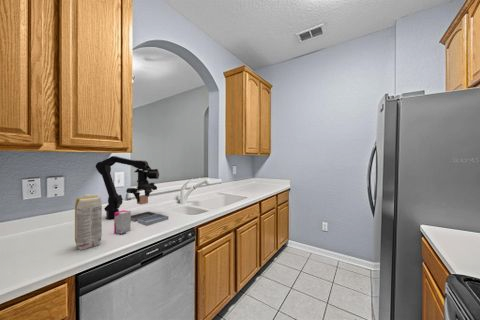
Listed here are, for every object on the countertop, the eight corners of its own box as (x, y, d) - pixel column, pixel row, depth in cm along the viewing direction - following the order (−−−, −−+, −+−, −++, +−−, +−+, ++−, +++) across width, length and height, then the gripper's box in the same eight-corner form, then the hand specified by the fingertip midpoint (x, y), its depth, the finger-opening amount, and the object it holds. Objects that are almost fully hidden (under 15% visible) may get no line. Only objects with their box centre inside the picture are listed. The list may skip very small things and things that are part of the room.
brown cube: (140, 204, 127) (140, 197, 127) (136, 203, 130) (136, 196, 130) (148, 203, 132) (148, 195, 132) (143, 202, 134) (143, 195, 134)
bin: (135, 222, 122) (135, 219, 122) (126, 219, 127) (126, 216, 127) (156, 216, 135) (156, 213, 135) (148, 214, 140) (148, 211, 140)
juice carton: (98, 240, 96) (98, 192, 96) (102, 244, 91) (103, 194, 90) (73, 246, 89) (73, 195, 88) (77, 252, 84) (77, 197, 83)
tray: (146, 226, 115) (146, 222, 115) (137, 223, 120) (137, 219, 120) (168, 219, 128) (168, 216, 128) (159, 217, 133) (159, 213, 133)
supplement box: (131, 230, 108) (131, 210, 108) (121, 234, 102) (121, 213, 102) (123, 229, 110) (123, 209, 110) (113, 233, 104) (113, 212, 104)
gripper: (135, 181, 119) (135, 206, 119) (161, 178, 134) (161, 200, 134) (126, 179, 125) (125, 203, 125) (152, 177, 140) (152, 198, 140)
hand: (142, 201), depth 131 cm, fingers closed on brown cube, 5 cm apart
